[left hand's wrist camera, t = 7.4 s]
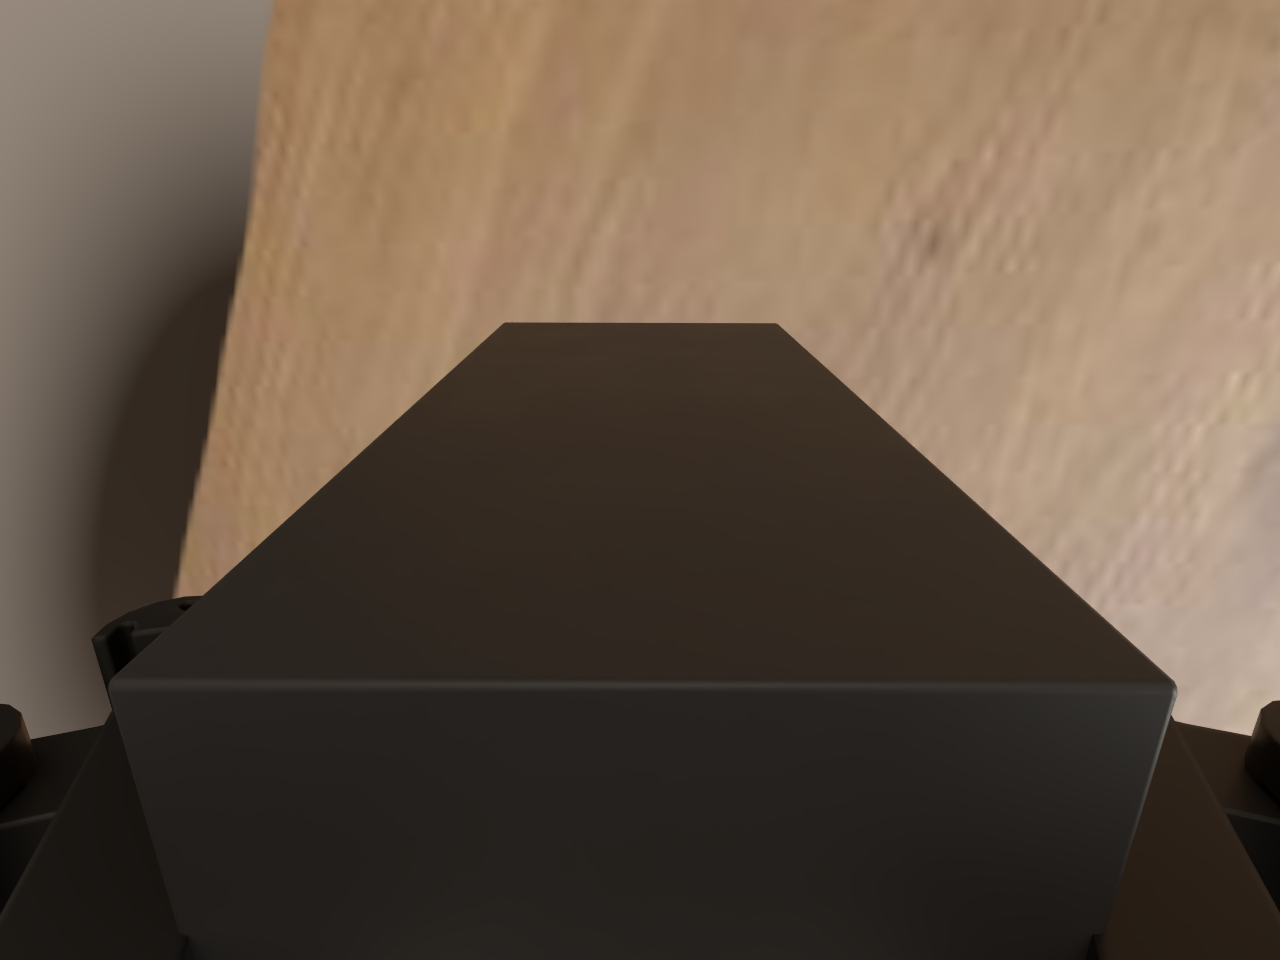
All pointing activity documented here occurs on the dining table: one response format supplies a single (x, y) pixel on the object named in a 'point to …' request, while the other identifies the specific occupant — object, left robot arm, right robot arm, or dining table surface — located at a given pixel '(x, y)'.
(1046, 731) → the box
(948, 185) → the dining table surface
